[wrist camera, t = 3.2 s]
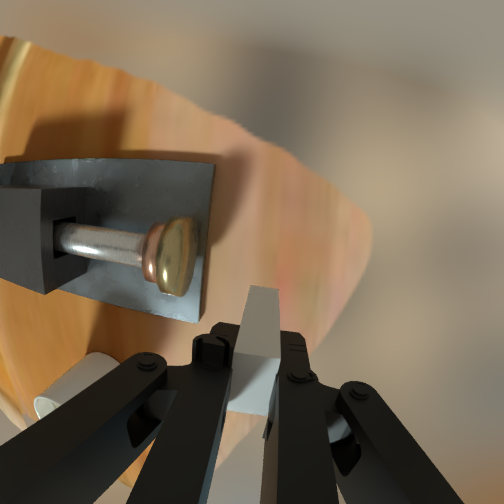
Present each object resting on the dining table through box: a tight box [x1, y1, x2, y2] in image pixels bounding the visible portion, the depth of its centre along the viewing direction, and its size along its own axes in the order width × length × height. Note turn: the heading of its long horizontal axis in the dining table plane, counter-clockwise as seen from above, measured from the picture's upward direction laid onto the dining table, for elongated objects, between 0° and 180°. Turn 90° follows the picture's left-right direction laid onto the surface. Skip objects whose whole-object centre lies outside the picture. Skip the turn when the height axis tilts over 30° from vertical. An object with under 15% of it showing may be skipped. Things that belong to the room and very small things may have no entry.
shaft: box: [53, 215, 198, 297], centre depth 23 cm, size 22×7×7 cm, turn 82°
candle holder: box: [34, 352, 120, 419], centre depth 26 cm, size 10×10×12 cm
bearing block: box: [0, 158, 216, 323], centre depth 24 cm, size 34×16×8 cm, turn 82°
